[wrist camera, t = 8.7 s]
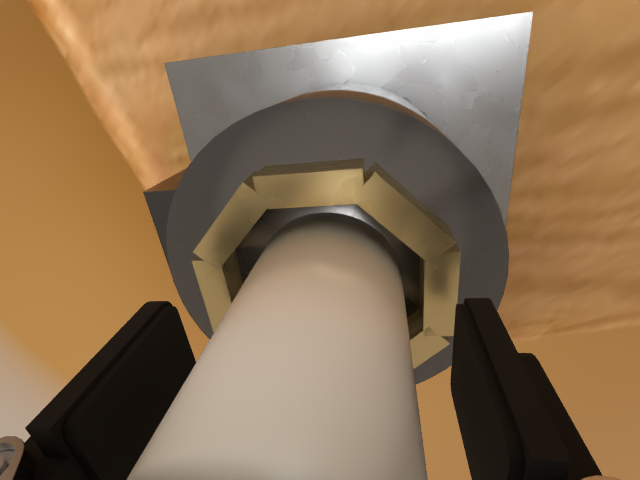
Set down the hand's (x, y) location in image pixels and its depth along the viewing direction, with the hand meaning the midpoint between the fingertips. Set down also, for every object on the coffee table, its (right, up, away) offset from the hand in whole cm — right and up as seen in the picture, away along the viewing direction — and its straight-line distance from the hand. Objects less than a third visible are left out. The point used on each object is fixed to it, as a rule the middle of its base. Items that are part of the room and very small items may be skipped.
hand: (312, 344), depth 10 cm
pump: (+1, +2, +3) cm, 3 cm away
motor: (+2, +6, +12) cm, 14 cm away
